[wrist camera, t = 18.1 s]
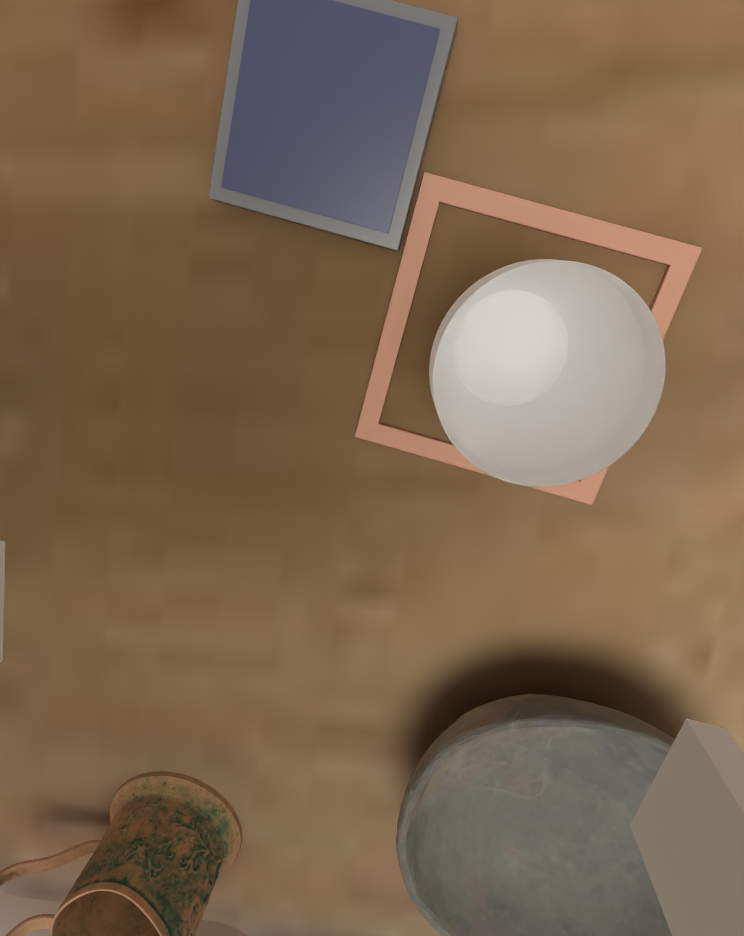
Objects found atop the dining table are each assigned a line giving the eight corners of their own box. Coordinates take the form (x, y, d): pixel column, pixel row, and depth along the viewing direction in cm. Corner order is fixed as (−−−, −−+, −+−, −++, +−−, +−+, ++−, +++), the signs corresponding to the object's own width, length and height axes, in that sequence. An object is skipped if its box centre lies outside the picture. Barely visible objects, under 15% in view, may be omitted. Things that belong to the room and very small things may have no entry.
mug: (39, 750, 47) (-89, 897, 36) (242, 783, 45) (176, 947, 34) (53, 851, 51) (-59, 1014, 39) (242, 884, 49) (182, 1063, 38)
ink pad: (215, 200, 32) (207, 197, 31) (250, -29, 29) (242, -42, 27) (398, 251, 32) (397, 249, 31) (457, 26, 28) (457, 15, 27)
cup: (458, 249, 31) (469, 225, 20) (614, 292, 31) (714, 293, 20) (413, 401, 34) (400, 455, 23) (555, 441, 34) (613, 517, 23)
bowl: (347, 768, 44) (328, 868, 36) (525, 585, 37) (547, 660, 30) (557, 907, 46) (580, 1030, 38) (760, 756, 39) (838, 868, 32)
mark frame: (355, 435, 35) (354, 436, 35) (424, 173, 30) (424, 172, 30) (590, 503, 35) (592, 504, 35) (699, 248, 30) (702, 247, 30)
